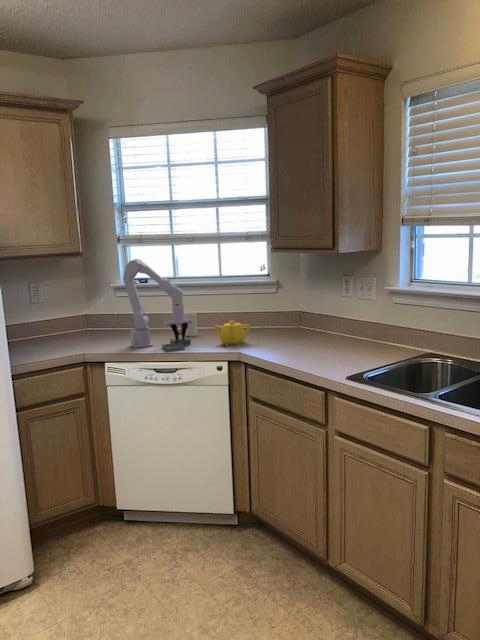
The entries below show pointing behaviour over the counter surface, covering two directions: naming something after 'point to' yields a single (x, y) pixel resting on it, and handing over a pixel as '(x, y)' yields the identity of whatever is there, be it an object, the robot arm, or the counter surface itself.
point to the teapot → (232, 333)
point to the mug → (191, 324)
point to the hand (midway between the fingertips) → (180, 338)
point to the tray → (173, 347)
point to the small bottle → (180, 335)
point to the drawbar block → (181, 341)
